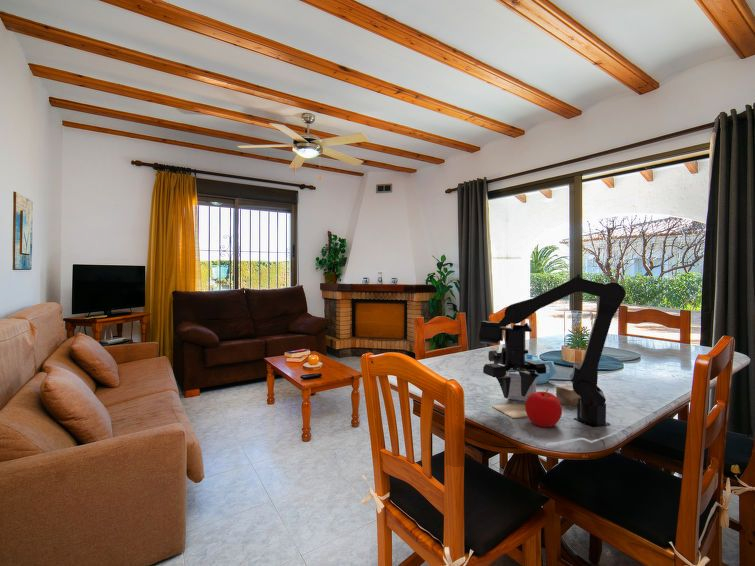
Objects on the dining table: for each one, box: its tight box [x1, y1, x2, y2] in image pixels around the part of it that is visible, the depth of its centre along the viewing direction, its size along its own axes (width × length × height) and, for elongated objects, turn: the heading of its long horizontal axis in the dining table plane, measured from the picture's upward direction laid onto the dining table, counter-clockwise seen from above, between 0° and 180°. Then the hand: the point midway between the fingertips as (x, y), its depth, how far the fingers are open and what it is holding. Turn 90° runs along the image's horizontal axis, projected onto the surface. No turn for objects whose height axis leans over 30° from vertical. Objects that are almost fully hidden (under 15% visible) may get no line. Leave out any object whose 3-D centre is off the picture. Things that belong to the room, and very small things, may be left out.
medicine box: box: [507, 372, 537, 402], centre depth 120 cm, size 8×4×9 cm, turn 55°
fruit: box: [525, 387, 563, 428], centre depth 100 cm, size 9×9×10 cm
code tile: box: [510, 399, 526, 405], centre depth 120 cm, size 11×6×1 cm, turn 18°
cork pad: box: [492, 402, 528, 420], centre depth 110 cm, size 10×10×1 cm
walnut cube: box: [555, 384, 581, 408], centre depth 117 cm, size 5×5×5 cm
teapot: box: [511, 352, 558, 385], centre depth 142 cm, size 15×15×11 cm
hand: (514, 397), depth 111 cm, fingers open, 6 cm apart
